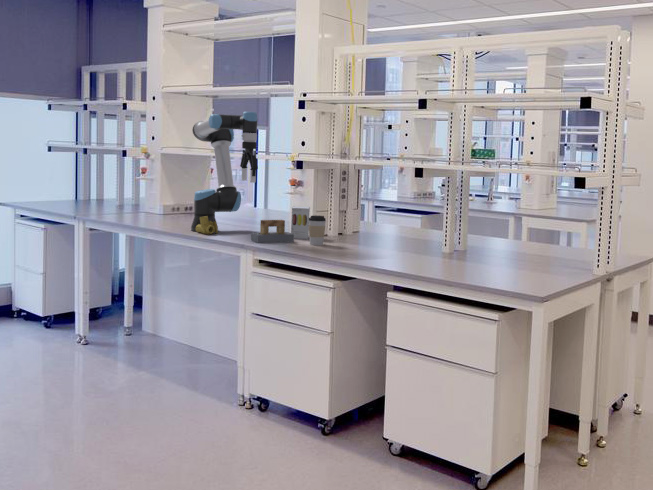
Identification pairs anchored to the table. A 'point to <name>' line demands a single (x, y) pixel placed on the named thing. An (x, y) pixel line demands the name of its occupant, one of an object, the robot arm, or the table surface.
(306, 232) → the supplement box
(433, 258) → the table surface
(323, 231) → the coffee cup
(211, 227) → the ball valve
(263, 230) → the clip
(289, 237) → the grey tray
